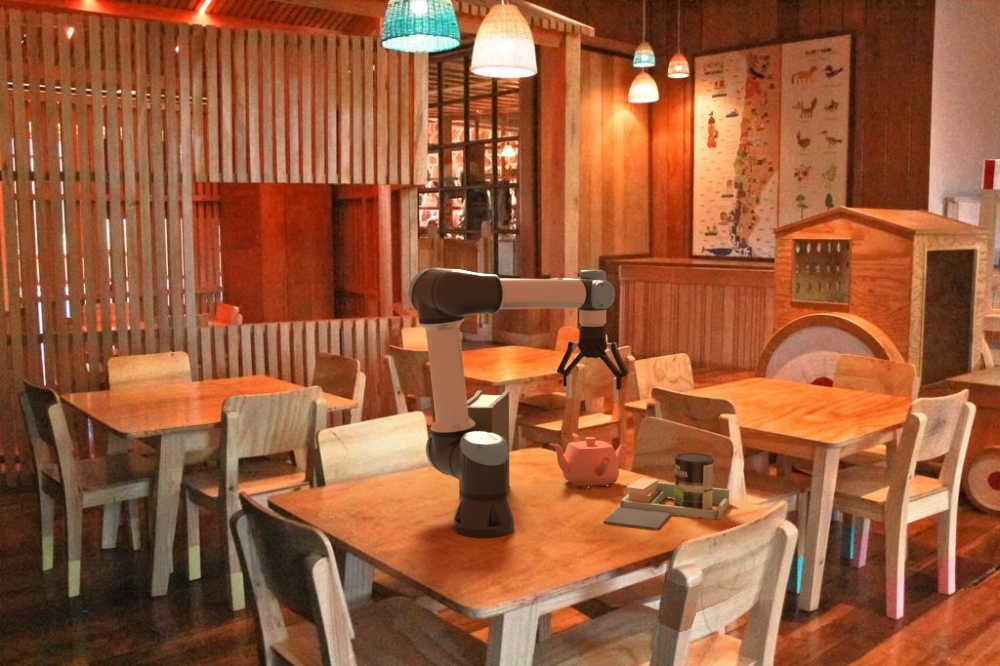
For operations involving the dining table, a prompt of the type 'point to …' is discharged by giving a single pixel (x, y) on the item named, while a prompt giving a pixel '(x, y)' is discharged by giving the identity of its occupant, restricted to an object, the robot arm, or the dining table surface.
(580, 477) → the teapot
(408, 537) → the dining table surface
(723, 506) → the rack
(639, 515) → the mat
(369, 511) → the dining table surface
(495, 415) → the book
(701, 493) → the coffee can
